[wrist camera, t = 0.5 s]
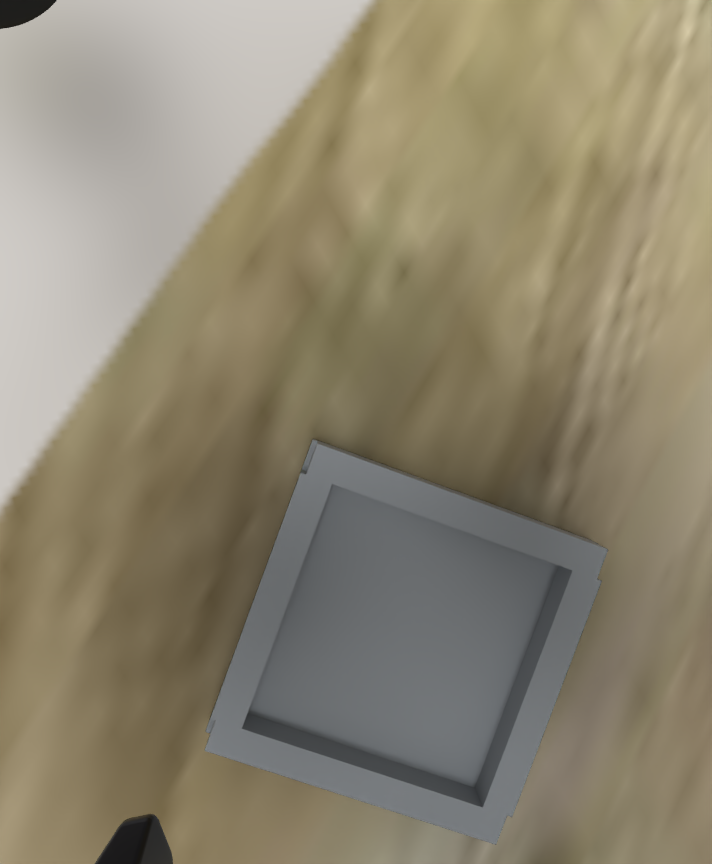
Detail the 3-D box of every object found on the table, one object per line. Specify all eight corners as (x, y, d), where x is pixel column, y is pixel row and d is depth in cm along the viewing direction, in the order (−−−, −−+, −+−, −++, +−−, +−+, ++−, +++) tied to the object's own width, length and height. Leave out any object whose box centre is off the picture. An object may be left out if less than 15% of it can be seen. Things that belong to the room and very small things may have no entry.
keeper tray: (486, 812, 26) (501, 846, 24) (209, 721, 25) (199, 748, 23) (589, 539, 25) (613, 551, 23) (312, 438, 25) (312, 441, 23)
